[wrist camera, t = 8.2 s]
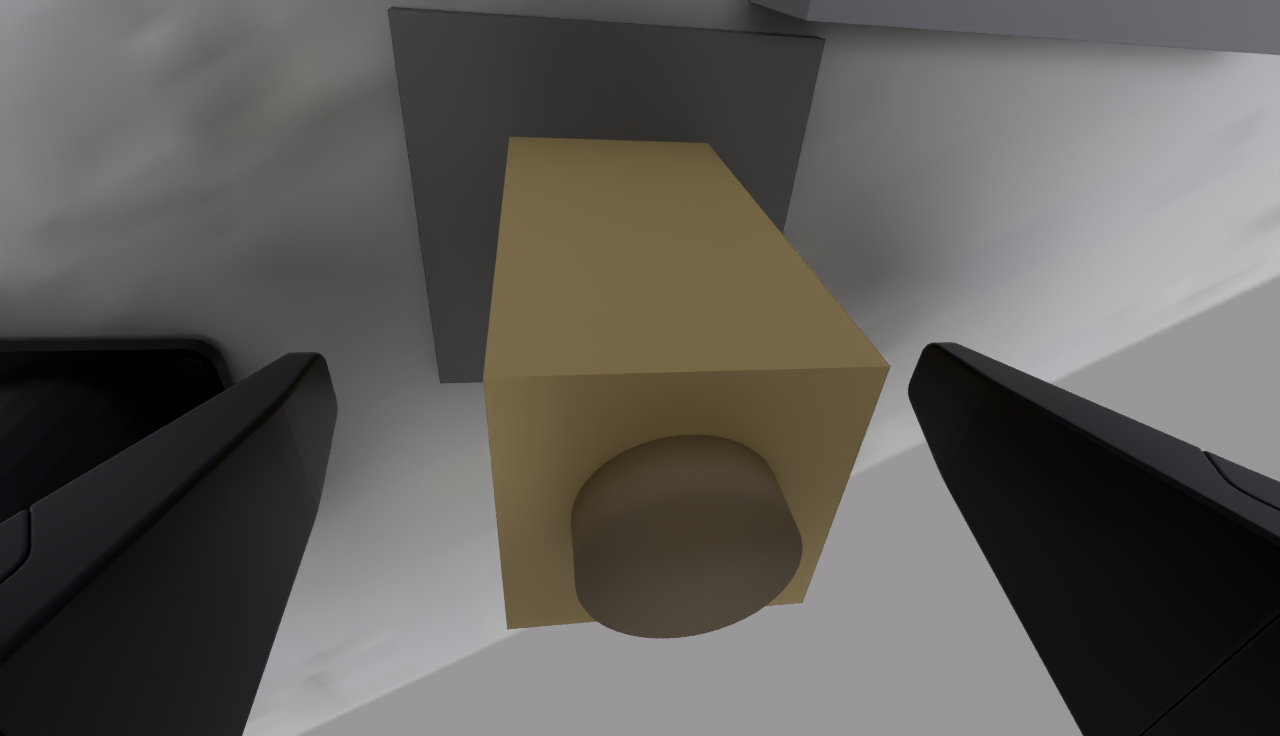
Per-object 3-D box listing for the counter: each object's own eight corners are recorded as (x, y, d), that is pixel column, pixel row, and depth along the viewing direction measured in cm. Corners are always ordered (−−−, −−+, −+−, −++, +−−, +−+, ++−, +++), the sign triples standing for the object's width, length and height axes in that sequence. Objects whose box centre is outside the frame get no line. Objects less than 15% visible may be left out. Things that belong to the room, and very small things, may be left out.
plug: (518, 314, 14) (505, 691, 7) (509, 136, 12) (476, 436, 5) (685, 311, 15) (824, 657, 8) (707, 142, 13) (932, 417, 6)
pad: (442, 373, 15) (440, 383, 15) (391, 7, 11) (387, 9, 11) (746, 367, 17) (751, 375, 16) (817, 36, 12) (825, 39, 12)
